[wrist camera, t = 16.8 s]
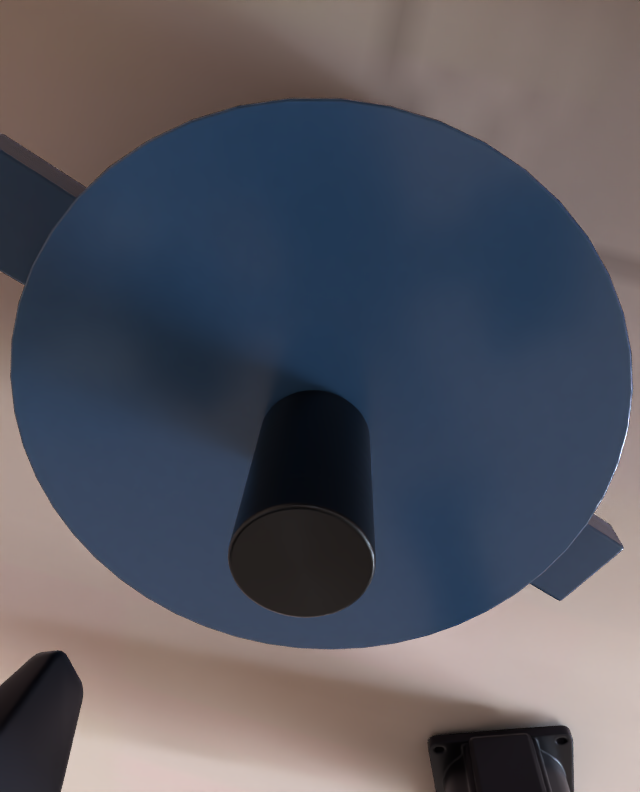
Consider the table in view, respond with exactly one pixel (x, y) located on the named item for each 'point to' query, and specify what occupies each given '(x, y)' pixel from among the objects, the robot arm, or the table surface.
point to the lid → (321, 373)
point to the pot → (54, 193)
